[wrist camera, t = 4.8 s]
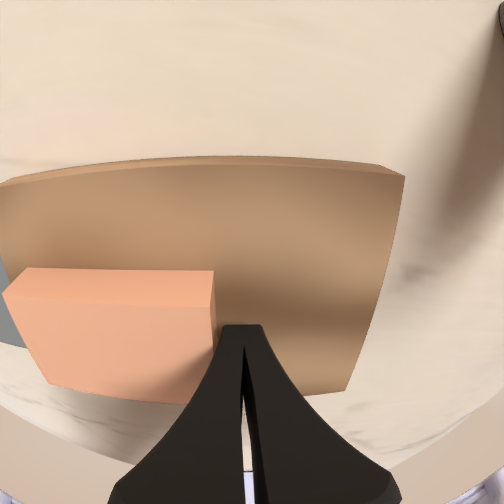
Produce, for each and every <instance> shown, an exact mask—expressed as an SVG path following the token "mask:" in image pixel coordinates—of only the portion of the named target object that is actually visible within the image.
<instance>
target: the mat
mask: <svg viewBox="0 0 504 504" xmlns="http://www.w3.org/2000/svg"><path fill="white" fill-rule="evenodd" d="M9 285H10V282H9V279H8V276H7V273H6V270H5V267H4V264H3V261H2V258H1V255H0V342H3V343H7V344H10V345H14V346H18V347H22V348H27V347H26V345H25V343H24V341H23V339H22V337H21V335H20V333H19V331H18V329H17V327H16V325H15V323H14V321H13V319H12V317H11V314H10V312H9V310H8V308H7V305H6V303H5V301H4V298H3V296H2V293H3V292H4V291H5V290H6V288H7V287H8V286H9ZM27 349H28V348H27Z"/></svg>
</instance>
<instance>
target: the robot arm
mask: <svg viewBox="0 0 504 504" xmlns="http://www.w3.org/2000/svg"><path fill="white" fill-rule="evenodd" d="M243 396H244V403H245V410H246V416H247V423H248V429H249V435H250V442H251V451H252V468H253V472H244V468H243V452H242V434H241V423H242V407H243ZM401 500H402V497H401V494H400V490H399V488H398V486H397V484H396V482H395V480H394V478H393V476H392V474H391V472H389V471H388V470H386V469H384V468H383V467H381V466H380V465H378V464H376V463H375V462H373V461H372V460H370V459H369V458H368V457H366V456H365V455H363V454H362V453H361V452H359V451H358V450H357V449H356V448H354V447H353V446H352V445H350V444H349V443H348V442H347V441H346V440H345V439H343V438H342V437H341V436H340V435H339V434H338V433H337V432H336V431H335V430H333V429H332V428H331V427H330V426H329V425H328V424H327V423H326V422H325V421H324V420H323V419H322V418H321V417H320V416H319V415H318V414H317V412H316V411H315V410H314V409H313V408H312V407H311V406H310V404H309V403H308V402H307V401H306V400H305V398H304V397H303V396H302V395H301V393H300V392H299V391H298V389H297V388H296V387H295V385H294V384H293V382H292V381H291V380H290V378H289V377H288V375H287V374H286V372H285V370H284V369H283V367H282V365H281V364H280V362H279V361H278V359H277V357H276V355H275V354H274V352H273V350H272V348H271V346H270V344H269V342H268V340H267V337H266V335H265V332H264V330H263V327H262V326H261V325H260V324H242V325H224V326H223V327H222V331H221V335H220V339H219V342H218V345H217V348H216V350H215V353H214V355H213V358H212V360H211V362H210V364H209V367H208V369H207V371H206V373H205V375H204V377H203V379H202V380H201V382H200V384H199V386H198V388H197V390H196V391H195V393H194V395H193V396H192V398H191V400H190V401H189V403H188V404H187V406H186V407H185V409H184V410H183V412H182V413H181V415H180V416H179V417H178V419H177V420H176V421H175V423H174V424H173V425H172V427H171V428H170V429H169V431H168V432H167V433H166V434H165V436H164V437H163V438H162V439H161V440H160V441H159V442H158V443H157V444H156V446H155V447H154V448H153V449H152V450H151V451H150V452H149V453H148V454H147V455H146V456H145V457H144V458H143V459H142V460H141V461H140V462H139V463H138V464H137V465H136V466H135V467H134V468H133V469H131V470H130V471H129V472H128V473H127V474H126V475H125V476H123V477H122V478H121V479H120V480H119V481H118V482H116V484H115V485H114V488H113V490H112V492H111V495H110V498H109V501H108V504H399V503H400V502H401ZM0 504H24V503H22V502H20V501H18V500H16V499H15V498H13V497H11V496H10V495H8V494H7V493H5V492H4V491H2V490H1V489H0ZM446 504H504V466H503V467H501V468H500V469H498V470H497V471H496V472H494V473H493V474H492V475H490V476H489V477H487V478H486V479H485V480H484V481H482V482H481V483H479V484H478V485H476V486H474V487H473V488H471V489H470V490H468V491H466V492H465V493H463V494H461V495H460V496H458V497H457V498H455V499H453V500H451V501H449V502H448V503H446Z"/></svg>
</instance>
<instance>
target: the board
mask: <svg viewBox="0 0 504 504" xmlns="http://www.w3.org/2000/svg"><path fill="white" fill-rule="evenodd" d="M404 180H405V176H404V175H402V174H399V173H397V172H395V171H392V170H390V169H388V168H385V167H383V166H381V165H375V164H367V163H358V162H348V161H338V160H326V159H312V158H295V157H271V156H196V157H172V158H155V159H141V160H129V161H119V162H109V163H101V164H92V165H85V166H77V167H71V168H64V169H58V170H52V171H46V172H40V173H35V174H30V175H25V176H20V177H15V178H11V179H9V180H7V181H5V182H3V183H0V255H1V258H2V261H3V264H4V267H5V270H6V273H7V276H8V279H9V282H10V284H11V283H12V282H13V281H14V280H15V279H16V278H17V277H18V276H19V275H20V274H21V273H22V272H23V271H24V270H25V269H26V268H27V267H31V268H63V269H105V270H189V271H214V288H215V307H216V324H217V339H218V342H219V339H220V335H221V331H222V327H223V326H224V325H242V324H260V325H261V326H262V327H263V330H264V332H265V335H266V337H267V340H268V342H269V344H270V346H271V348H272V350H273V352H274V354H275V355H276V357H277V359H278V361H279V362H280V364H281V365H282V367H283V369H284V370H285V372H286V374H287V375H288V377H289V378H290V380H291V381H292V382H293V384H294V385H295V387H296V388H297V389H298V391H299V392H300V393H301V395H302V396H309V395H318V394H327V393H334V392H341V391H345V389H346V387H347V385H348V382H349V380H350V377H351V375H352V372H353V370H354V367H355V365H356V362H357V360H358V357H359V354H360V352H361V349H362V346H363V343H364V341H365V338H366V335H367V332H368V329H369V326H370V323H371V320H372V317H373V314H374V311H375V307H376V304H377V301H378V297H379V294H380V291H381V287H382V284H383V280H384V276H385V272H386V269H387V265H388V261H389V257H390V253H391V248H392V244H393V240H394V235H395V230H396V226H397V221H398V216H399V210H400V205H401V199H402V193H403V187H404ZM243 400H244V396H243Z"/></svg>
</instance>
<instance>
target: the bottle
mask: <svg viewBox="0 0 504 504" xmlns="http://www.w3.org/2000/svg"><path fill="white" fill-rule="evenodd" d="M499 15H500V23H501V28H502V32H503V35H504V2H503V3H502V4H501V6H500V11H499Z"/></svg>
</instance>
